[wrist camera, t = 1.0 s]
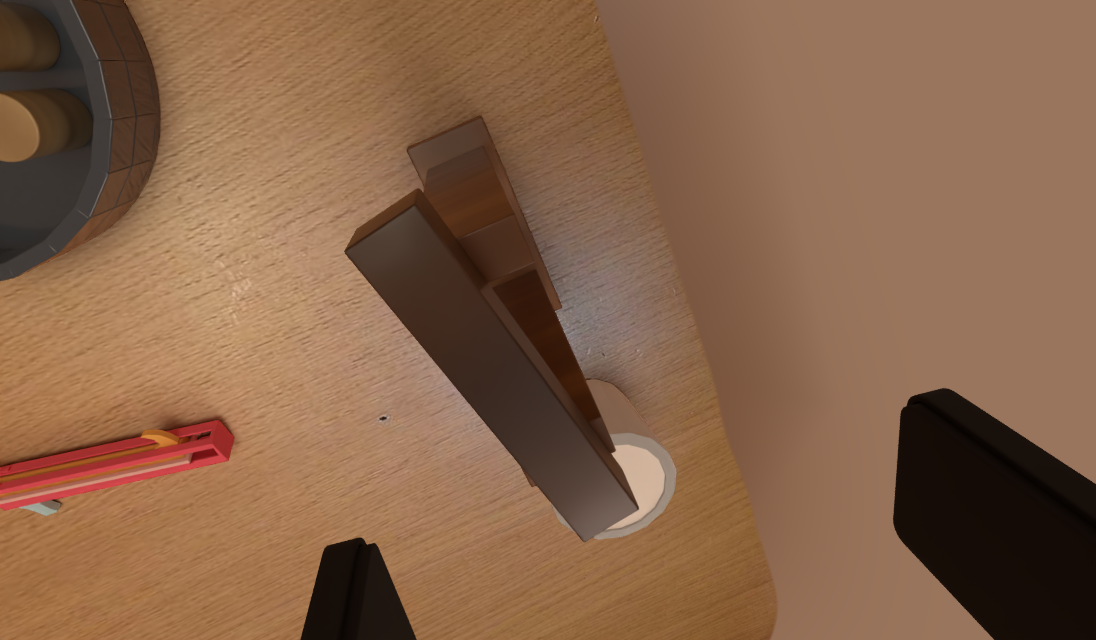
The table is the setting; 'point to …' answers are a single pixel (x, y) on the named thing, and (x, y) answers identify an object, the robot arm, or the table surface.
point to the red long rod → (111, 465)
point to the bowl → (105, 160)
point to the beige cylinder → (633, 459)
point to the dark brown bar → (490, 361)
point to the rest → (501, 246)
